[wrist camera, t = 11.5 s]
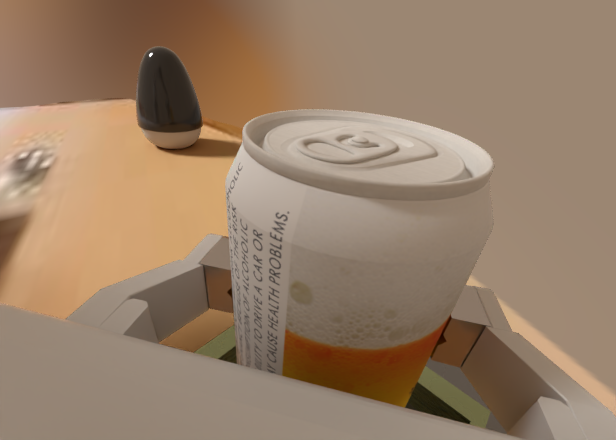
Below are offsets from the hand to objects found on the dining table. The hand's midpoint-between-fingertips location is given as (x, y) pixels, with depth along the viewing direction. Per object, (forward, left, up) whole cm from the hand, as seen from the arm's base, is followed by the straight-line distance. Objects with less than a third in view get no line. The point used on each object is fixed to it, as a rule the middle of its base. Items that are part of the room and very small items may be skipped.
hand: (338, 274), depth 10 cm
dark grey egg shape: (+17, +48, -11) cm, 52 cm away
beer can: (-1, 0, -10) cm, 10 cm away
